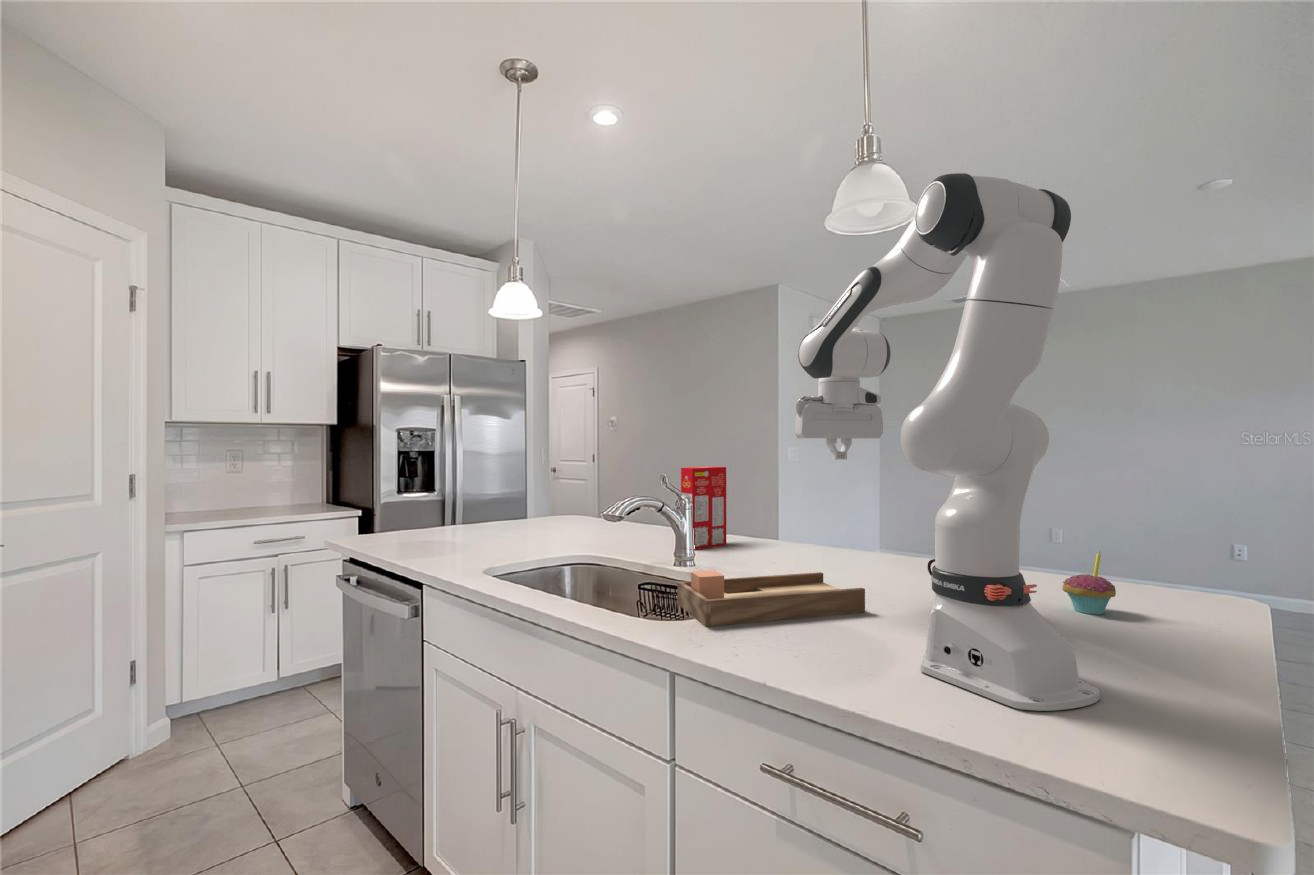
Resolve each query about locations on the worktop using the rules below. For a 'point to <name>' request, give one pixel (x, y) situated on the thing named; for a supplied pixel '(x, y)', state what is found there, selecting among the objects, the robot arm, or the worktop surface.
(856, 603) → the trap lane
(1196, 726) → the worktop surface
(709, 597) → the block
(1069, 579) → the cupcake
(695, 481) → the food packaging
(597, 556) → the worktop surface
